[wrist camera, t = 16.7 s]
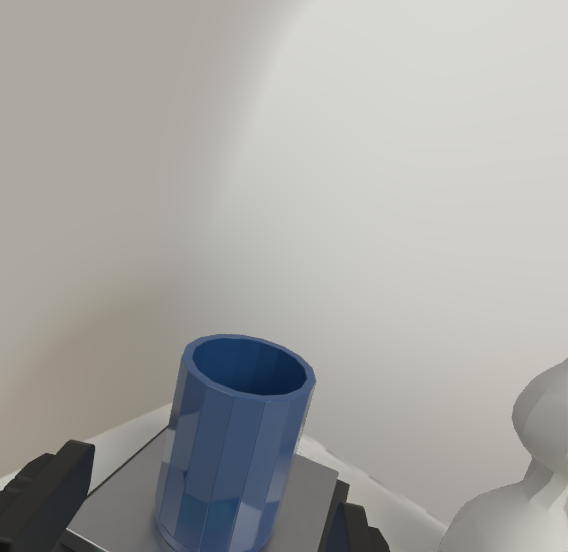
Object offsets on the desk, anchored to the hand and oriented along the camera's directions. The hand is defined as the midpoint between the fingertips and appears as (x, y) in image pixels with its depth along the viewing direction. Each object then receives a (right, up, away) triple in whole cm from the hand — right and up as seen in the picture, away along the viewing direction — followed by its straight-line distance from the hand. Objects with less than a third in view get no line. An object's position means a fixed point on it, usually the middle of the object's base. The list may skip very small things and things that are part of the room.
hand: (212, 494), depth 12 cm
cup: (-1, -6, +9) cm, 11 cm away
